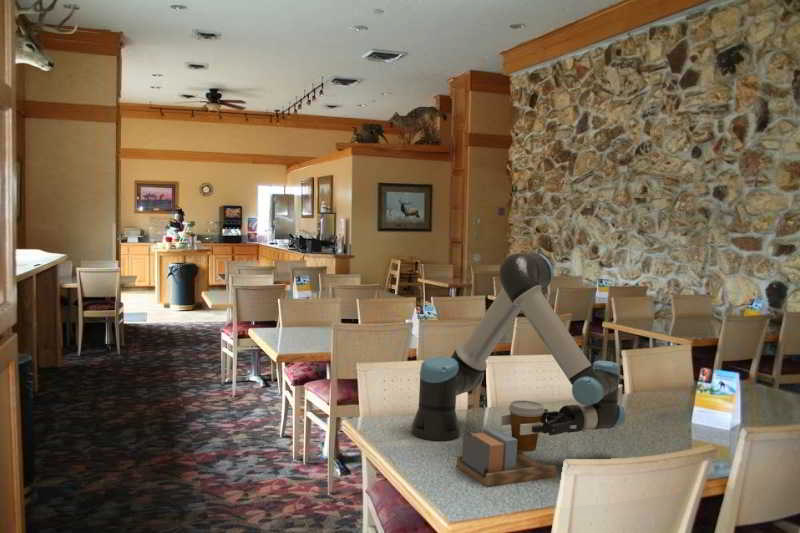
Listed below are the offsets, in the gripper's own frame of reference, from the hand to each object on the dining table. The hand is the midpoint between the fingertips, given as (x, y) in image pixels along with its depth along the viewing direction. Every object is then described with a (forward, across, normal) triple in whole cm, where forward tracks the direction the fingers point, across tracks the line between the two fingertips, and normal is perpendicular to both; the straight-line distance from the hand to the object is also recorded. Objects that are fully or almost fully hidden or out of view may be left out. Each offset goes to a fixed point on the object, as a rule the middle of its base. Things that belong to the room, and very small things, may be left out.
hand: (511, 424), depth 180 cm
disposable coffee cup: (-5, 0, -7) cm, 8 cm away
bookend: (+11, 0, -11) cm, 16 cm away
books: (+6, 0, -11) cm, 13 cm away
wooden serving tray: (+1, 0, -13) cm, 13 cm away
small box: (-64, +31, -13) cm, 72 cm away
